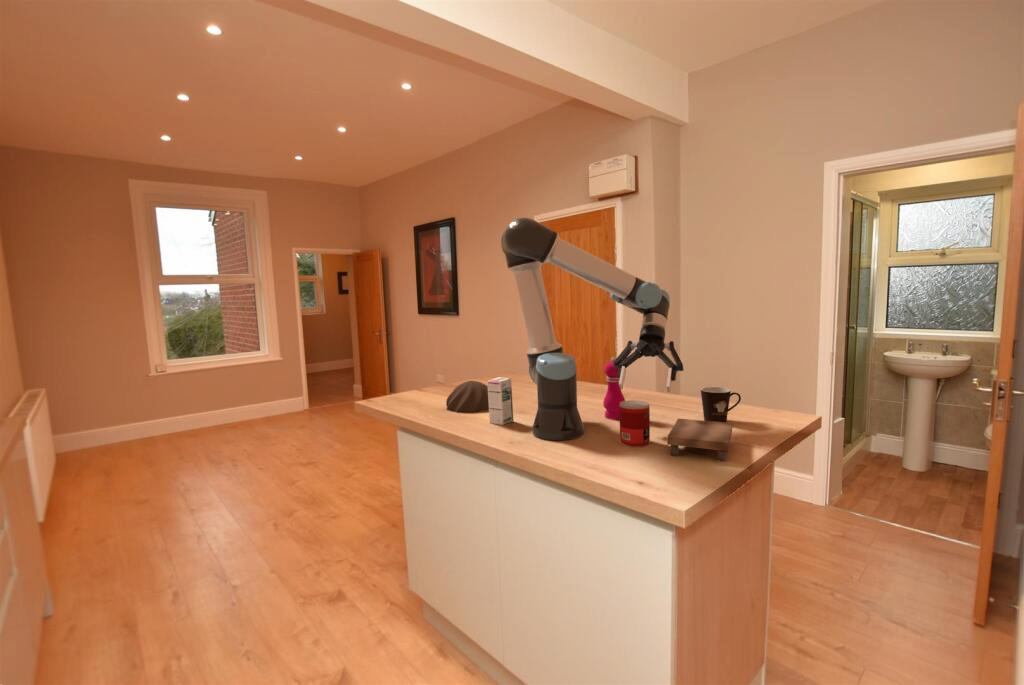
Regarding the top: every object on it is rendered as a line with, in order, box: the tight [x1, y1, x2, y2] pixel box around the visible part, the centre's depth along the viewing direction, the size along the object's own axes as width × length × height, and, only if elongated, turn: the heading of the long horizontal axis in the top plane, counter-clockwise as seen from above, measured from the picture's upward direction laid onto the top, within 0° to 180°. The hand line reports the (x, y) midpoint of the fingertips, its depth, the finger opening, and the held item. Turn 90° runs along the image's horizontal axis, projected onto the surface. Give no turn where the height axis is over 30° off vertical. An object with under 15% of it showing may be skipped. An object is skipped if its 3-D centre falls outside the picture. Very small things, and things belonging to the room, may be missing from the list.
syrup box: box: [486, 376, 514, 426], centre depth 158 cm, size 6×6×14 cm
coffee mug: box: [700, 386, 742, 423], centre depth 150 cm, size 12×9×10 cm
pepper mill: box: [602, 356, 626, 420], centre depth 159 cm, size 7×7×20 cm
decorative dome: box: [445, 380, 489, 414], centre depth 182 cm, size 19×20×10 cm
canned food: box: [619, 399, 651, 447], centre depth 133 cm, size 8×8×11 cm
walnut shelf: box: [666, 418, 733, 462], centre depth 126 cm, size 14×18×5 cm
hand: (644, 388), depth 140 cm, fingers open, 13 cm apart
